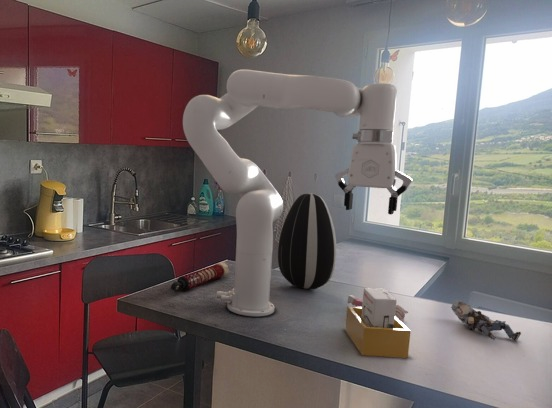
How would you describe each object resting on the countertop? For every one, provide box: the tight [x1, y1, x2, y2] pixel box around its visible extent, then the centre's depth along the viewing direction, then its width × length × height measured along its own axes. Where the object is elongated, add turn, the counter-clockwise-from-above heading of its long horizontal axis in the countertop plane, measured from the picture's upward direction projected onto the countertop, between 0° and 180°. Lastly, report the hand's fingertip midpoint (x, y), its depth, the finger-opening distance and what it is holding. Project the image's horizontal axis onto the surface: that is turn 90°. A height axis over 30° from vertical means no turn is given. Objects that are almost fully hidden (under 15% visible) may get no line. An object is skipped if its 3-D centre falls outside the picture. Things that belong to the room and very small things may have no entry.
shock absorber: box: [170, 261, 230, 292], centre depth 142 cm, size 5×5×30 cm
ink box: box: [361, 287, 397, 328], centre depth 102 cm, size 9×5×12 cm, turn 178°
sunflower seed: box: [277, 192, 338, 290], centre depth 142 cm, size 19×10×30 cm, turn 58°
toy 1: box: [346, 294, 409, 323], centre depth 120 cm, size 8×6×15 cm
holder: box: [344, 306, 411, 359], centre depth 102 cm, size 10×14×6 cm
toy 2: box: [450, 299, 522, 342], centre depth 113 cm, size 7×11×15 cm
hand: (369, 211), depth 107 cm, fingers open, 9 cm apart
